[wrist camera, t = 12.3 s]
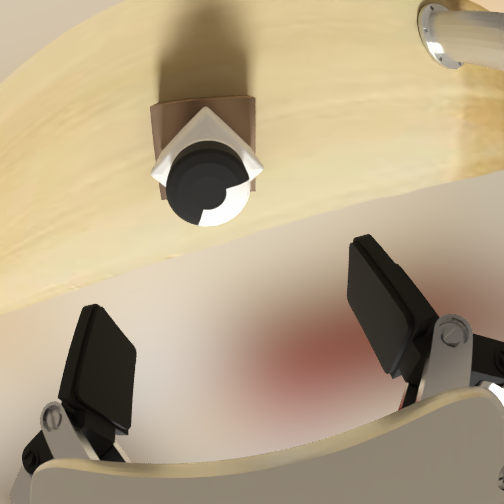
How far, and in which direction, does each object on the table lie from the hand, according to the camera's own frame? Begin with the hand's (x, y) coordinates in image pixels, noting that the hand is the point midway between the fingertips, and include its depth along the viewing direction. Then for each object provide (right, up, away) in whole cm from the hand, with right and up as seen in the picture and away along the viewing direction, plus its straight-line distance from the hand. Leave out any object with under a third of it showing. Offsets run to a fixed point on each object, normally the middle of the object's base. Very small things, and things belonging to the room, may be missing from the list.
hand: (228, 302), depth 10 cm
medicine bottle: (-4, +13, +18) cm, 23 cm away
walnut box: (-5, +16, +23) cm, 29 cm away
